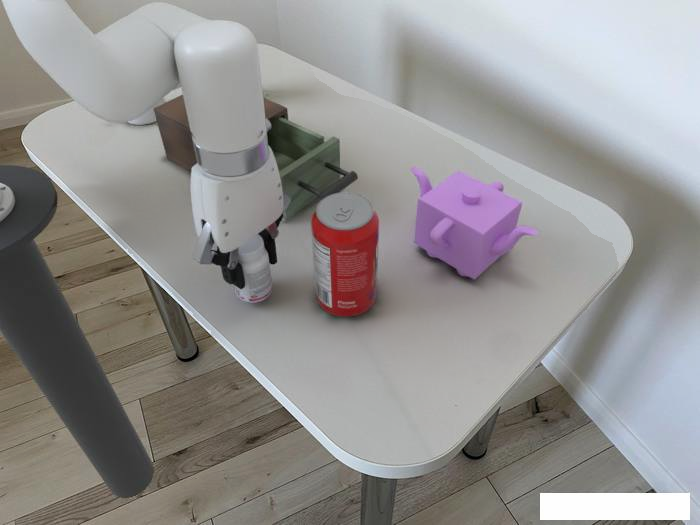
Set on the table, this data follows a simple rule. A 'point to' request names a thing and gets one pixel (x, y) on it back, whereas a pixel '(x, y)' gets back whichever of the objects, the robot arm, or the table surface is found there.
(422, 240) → the teapot
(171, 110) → the cabinet
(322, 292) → the soda can
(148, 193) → the table surface
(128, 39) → the robot arm
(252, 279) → the pill bottle
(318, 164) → the drawer
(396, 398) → the table surface
